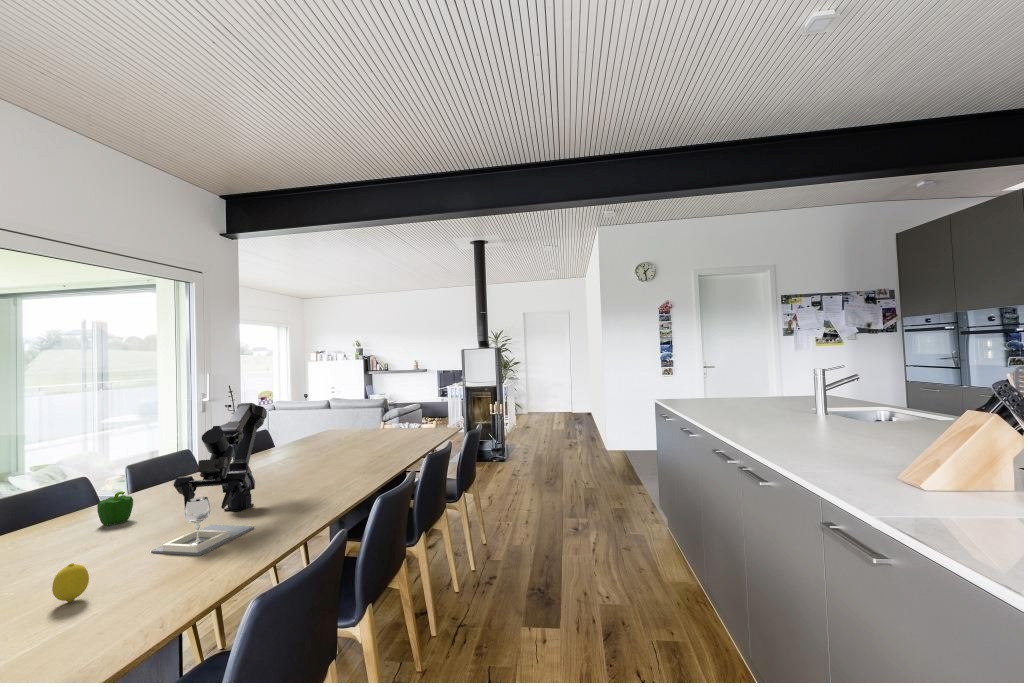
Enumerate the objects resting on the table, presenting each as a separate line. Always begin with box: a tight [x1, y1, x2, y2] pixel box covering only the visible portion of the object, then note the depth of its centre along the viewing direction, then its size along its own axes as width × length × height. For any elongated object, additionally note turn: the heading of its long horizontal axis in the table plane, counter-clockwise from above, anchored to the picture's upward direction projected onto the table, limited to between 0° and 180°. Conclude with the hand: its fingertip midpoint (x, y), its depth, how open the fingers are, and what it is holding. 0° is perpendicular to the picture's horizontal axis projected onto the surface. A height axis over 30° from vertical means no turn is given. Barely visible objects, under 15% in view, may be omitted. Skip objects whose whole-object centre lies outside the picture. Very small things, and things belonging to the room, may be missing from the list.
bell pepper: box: [96, 490, 134, 526], centre depth 143 cm, size 8×8×10 cm
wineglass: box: [184, 496, 211, 545], centre depth 124 cm, size 6×6×12 cm
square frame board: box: [151, 524, 255, 557], centre depth 127 cm, size 15×19×2 cm
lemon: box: [51, 562, 90, 603], centre depth 95 cm, size 6×6×8 cm
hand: (204, 509), depth 129 cm, fingers open, 9 cm apart
